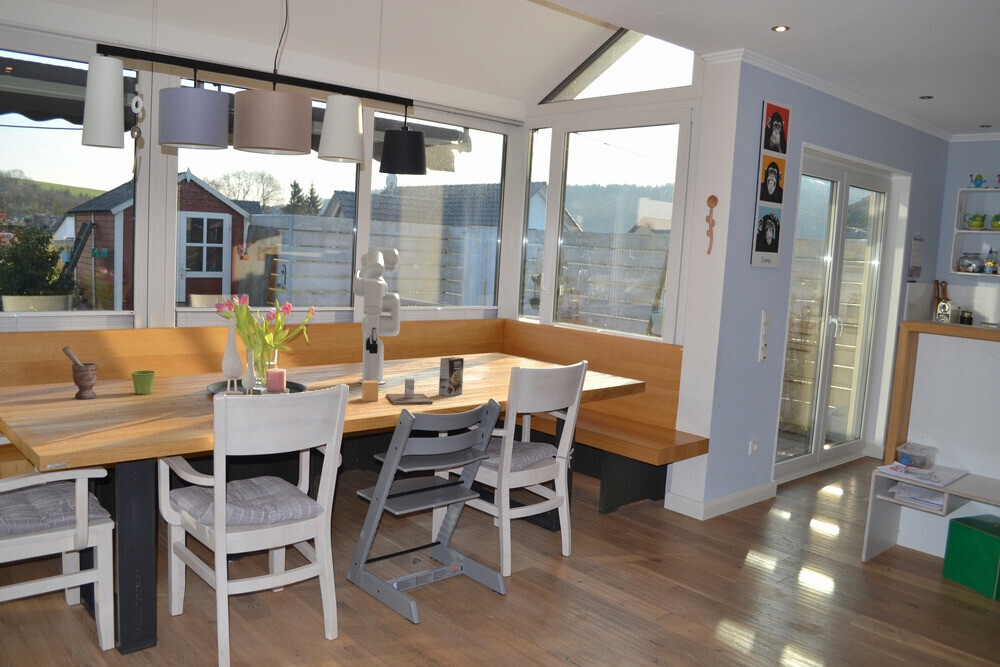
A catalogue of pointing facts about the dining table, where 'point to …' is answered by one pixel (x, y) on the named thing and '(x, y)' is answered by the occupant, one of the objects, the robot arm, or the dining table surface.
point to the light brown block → (370, 390)
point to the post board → (408, 401)
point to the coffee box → (451, 376)
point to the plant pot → (143, 381)
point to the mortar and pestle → (82, 375)
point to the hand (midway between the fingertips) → (371, 351)
